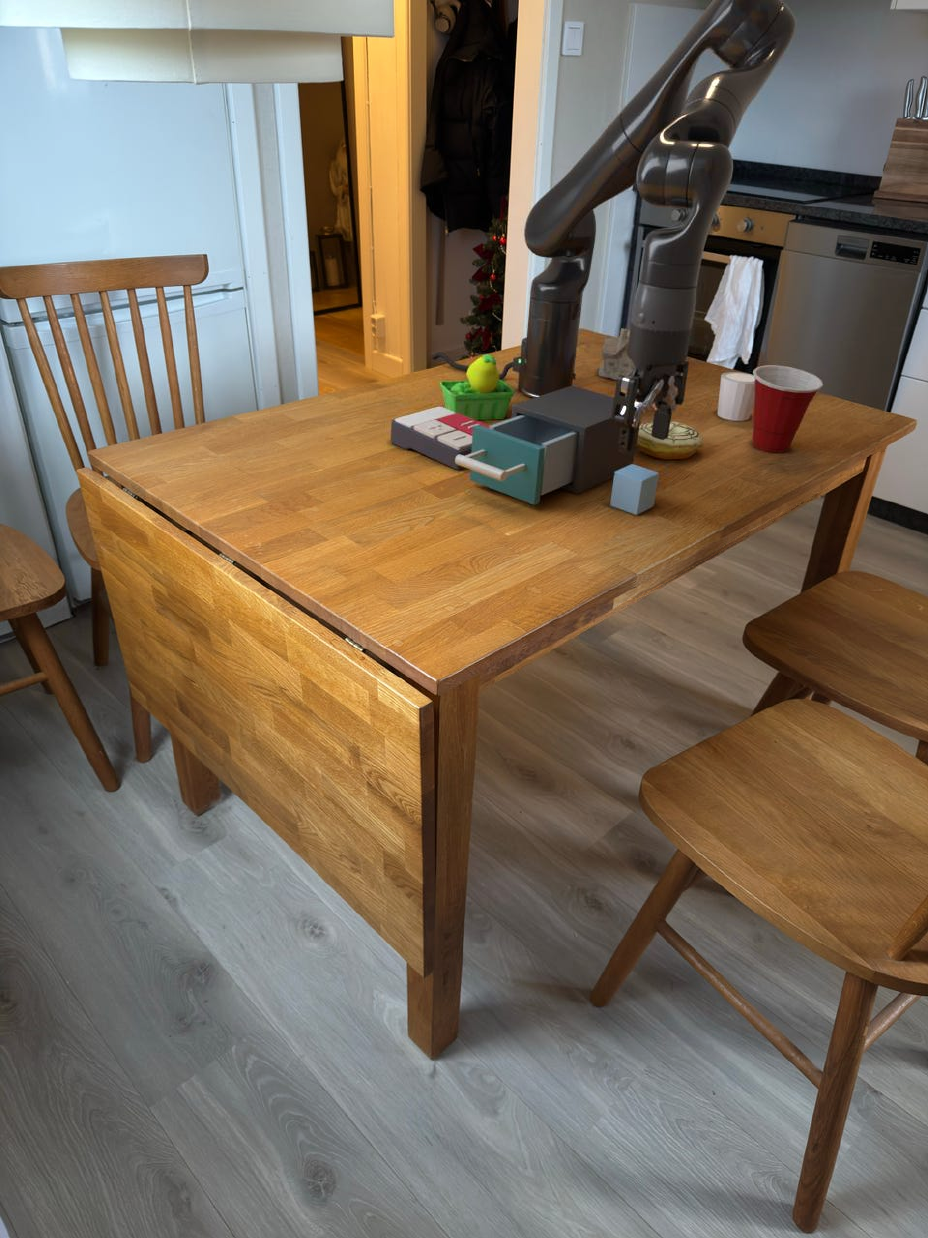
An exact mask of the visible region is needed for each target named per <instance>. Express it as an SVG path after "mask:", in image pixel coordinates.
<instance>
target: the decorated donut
mask: <svg viewBox="0 0 928 1238" xmlns="http://www.w3.org/2000/svg"><path fill="white" fill-rule="evenodd" d="M652 427H653V421H651V422H646V423H643V424H640V426H639V433H638V439H637V446H636V447H637V448H638V449H639V450H640V452H642V453H644V454H646V455H648V456H650V457H652V458H657V459H662V460H668V461H670V460H684V459H687V458H690V457H692V456H693V455H694V454H695V453H697V452H698V451H699V449H701V448H703V446H704V439H703V437H702V435H701V433H699V432H698V430H696V429H694V428H693V427H691V426H690V425H687V424H685V423H682V422H678V421H671V422H670V427H669V433H668V438H666V439H664V440H660V439H657V438H654V437H652V434H651V433H652Z"/></svg>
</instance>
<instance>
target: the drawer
mask: <svg viewBox="0 0 928 1238" xmlns="http://www.w3.org/2000/svg"><path fill="white" fill-rule="evenodd" d="M488 426H489V428H486V427H483V426H480V425H477V426H474V427H473V434H472V453H471V454H468V455H466V456H463V455H460V454H459V455H457V456H456V458H455V463H456V464H457V465H460V466H462V467H465V468H464V469H468V470H470V471H469V472H470V473H469V474H470V475H469V481H471V482H474V483H476V484H479V485H481V486H483V487H486V488H489V489H492V490H495V491H497V492H498V493H502V494H504V495H507V496H510V497H512V498H515V499H518V500H520V501H523V502H524V503H528V504H531V505H532V506H535V505H537V504H540V502H541V496H544V495H546V494H548V493H551V492H552V491H555V490H558V489H560V488H559V487H561V486H564V485H566V484H568V483H570V482H573V481H574V473H575V464H576V456H577V448H578V439H579V433H580V432H577V431H574V430H571V429H568V428H564V427H561V426H558V425H555V424H552V423H549V422H546V421H543V420H539V419H536V418H533V417H530V416H527V415H524V414H523V415H520V416H517V417H514V418H512V417H511V418H508V419H505V420H502V421H499V422H497V423H493V424H491V425H488Z"/></svg>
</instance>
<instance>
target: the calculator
mask: <svg viewBox="0 0 928 1238" xmlns="http://www.w3.org/2000/svg"><path fill="white" fill-rule="evenodd" d="M477 425H480V426H483V427H486V428H489V426H490V425H488V424H486V423H483V422H481V421H480V420H474V419H472V418H469V417H467V416H465V415H462V414H460V413H455V412H453V411H450V410H448V409H446V407H443V406H436V407H431V408H429V409H425V410H422V411H417V412H414V413H410V414H407V415H403V416H399V417H397V418H395V419H393V420H391V423H390V443H391V444H394V445H396V446H398V447H400V448H402V449H404V450H409V449H412V450H413V451H415V452H418V453H420V454H422V455H424V456H426V457H428V458H430V459H432V460H435V461H437V462H439V463H441V464H443V465H445V466H447V467H449V468H452V469H453V470H456V471H460V470H463V469H466V468H465V467H462V466H460V465H457V464H456V463H455V458H456V456H457V455H459V454H460V455H463V456H466V455H468V454H471V453H472V434H473V427H474V426H477Z"/></svg>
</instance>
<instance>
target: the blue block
mask: <svg viewBox="0 0 928 1238" xmlns="http://www.w3.org/2000/svg"><path fill="white" fill-rule="evenodd" d="M659 477H660V472H657V471H655V470H652V469H649V468H645V467H643V466H639V465H638V464H637V465H636V464H635V463H634V464H631V465H629V466H627V467H624V468H622V469H620V470H618V471H616V472H615V474H614V477H613V481H612V488H611V496H610V503H609V506H610V507H613V508H616V509H619V510H622V511H624V512H627V513H630V514H632V515H635V516H638V515H639V514H642V513H644V512H645V511H647V510H649V509H651V508H653V507H654V505H655V499H656V493H657V487H658V481H659Z"/></svg>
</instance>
